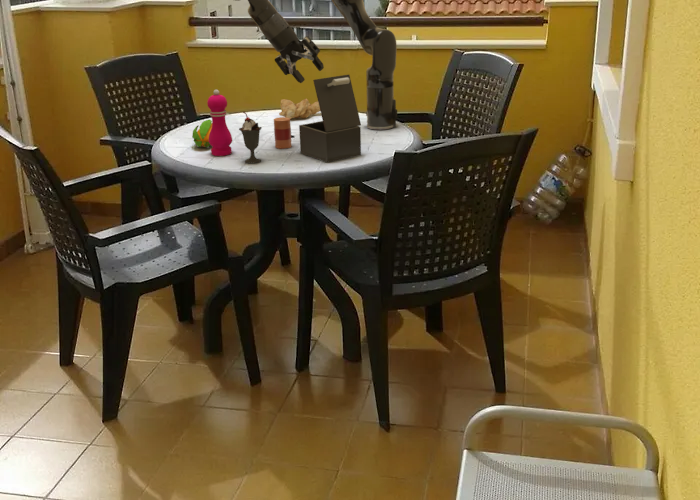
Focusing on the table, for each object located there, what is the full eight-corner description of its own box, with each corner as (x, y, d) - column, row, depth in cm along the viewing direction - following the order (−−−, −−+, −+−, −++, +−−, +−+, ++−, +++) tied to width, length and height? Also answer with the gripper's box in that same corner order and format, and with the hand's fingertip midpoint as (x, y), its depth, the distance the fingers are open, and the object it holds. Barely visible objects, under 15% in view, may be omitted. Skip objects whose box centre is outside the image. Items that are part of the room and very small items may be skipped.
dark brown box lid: (313, 80, 237) (323, 75, 232) (347, 74, 244) (358, 70, 239) (325, 132, 238) (335, 128, 233) (359, 125, 245) (370, 122, 240)
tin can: (289, 144, 263) (287, 116, 260) (293, 147, 259) (292, 119, 255) (273, 145, 262) (271, 118, 258) (277, 149, 257) (275, 121, 254)
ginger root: (267, 117, 295) (269, 94, 294) (286, 118, 310) (288, 97, 308) (306, 121, 290) (308, 98, 288) (324, 122, 304) (326, 100, 303)
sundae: (242, 158, 248) (238, 110, 242) (264, 157, 248) (260, 109, 243) (241, 164, 242) (237, 114, 236) (263, 163, 242) (260, 113, 236)
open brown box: (300, 153, 252) (299, 125, 249) (333, 146, 259) (332, 118, 256) (327, 162, 241) (326, 133, 238) (361, 155, 248) (360, 126, 245)
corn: (189, 127, 255) (199, 113, 273) (189, 151, 257) (199, 135, 276) (212, 128, 255) (221, 114, 273) (213, 152, 258) (221, 136, 276)
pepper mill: (228, 156, 250) (223, 92, 243) (206, 156, 252) (200, 91, 244) (236, 150, 257) (231, 87, 249) (214, 150, 258) (209, 87, 251)
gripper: (256, 48, 239) (291, 91, 244) (287, 25, 230) (323, 71, 235) (268, 36, 244) (302, 79, 249) (299, 14, 235) (333, 59, 240)
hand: (312, 75), depth 242 cm, fingers open, 8 cm apart
